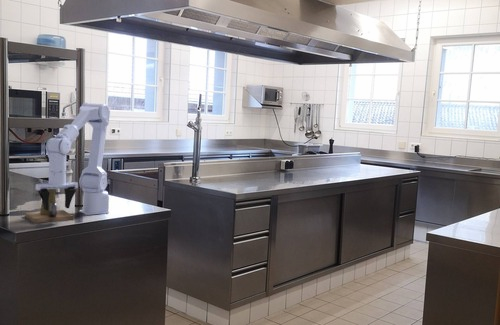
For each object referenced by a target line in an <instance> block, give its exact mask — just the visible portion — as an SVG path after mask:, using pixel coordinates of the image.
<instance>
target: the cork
mask: <svg viewBox="0 0 500 325" xmlns="http://www.w3.org/2000/svg"><path fill="white" fill-rule="evenodd" d="M47 190H48V192H50V194H49V200H48V210H45V209H44V206H43V202H42V201H41V206H40V210H39V212H40V214H41V215H50V203H57V201H56V199H57V198H56V192H57V189H47Z"/></svg>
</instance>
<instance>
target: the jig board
mask: <svg viewBox="0 0 500 325" xmlns="http://www.w3.org/2000/svg"><path fill="white" fill-rule="evenodd" d="M24 217H25V218H27V219H28V220H29V221H30V222H31V223H33V224H39V223H50V222H61V221H72V220H74V215H73V214H71V213H70V212H67V211H66V210H64V209H57V215H56V217H49V215H41V214H40V211H29V212H27V211H26V212H25V213H24Z"/></svg>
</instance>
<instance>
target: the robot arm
mask: <svg viewBox="0 0 500 325" xmlns="http://www.w3.org/2000/svg"><path fill="white" fill-rule="evenodd" d="M78 110H79V113H78V114H77V115H76V117H75V118H74V119H73V121H72V122H71V124H65V125H63V128H62V129H61V130H60V131H59V132H58V133H57V134H56V135H55V136H54V137H51V138H50V139H48V140H47V142H46V145H45V150H46V152H47V157H48V182H46V183H37V184H35V191H37V193H38V196H40V199H41V203H42V202H43V206H44V209H45V210H48V200H49V194H50V192H48V190H47V189H56V190H59V189H64V188H65V189H64V190H65V194H64V195H65V196H64V207H65V208H66V209H70V206H71V203H72V200H73V197H74V195H75V194H76V193H77V189H78V188H79V187H80V189H81V191H82V192H83V198H82V199H83V203H82V204H83V205H82V206H83V208H82V209H80V210H79V212H80V213H82V214H83V215H86V216H89V215H90V216H91V215H100V214H101V215H102V214H104V215H105V214H109V213H110V212H109V202H110V201H109V200H110V196H109V192H108V191H107V190H106V188H107V186H108V177H107V176H108V173H107V171H105V170H104V168H102V166H103V158H104V152H105V145H106V143H105V142H106V136H107V129H108V126H109V123H110V117H111V116H110V114H111V110H110V109H109V106H108V104H106V103H91V102H90V103H88V102H83V103H82V105H81V106H80V107H79V109H78ZM87 123H88V124H89V125H91V127H92V134H91V141H90V149H89V155H88V162H87V163H88V164H87V166H86V167H85V168H84V169H82V171H81V175H80V177H79V179H78V182H77V181H74V182H73V181H71V182H66V169H67V155H68V153H70V151H71V147H72V145H73V144H72V143H73V142H74V141H75V140H76V139H77V138H78V136H79V135H80V132H79V131H80V130H81V129H82V128H83V127H84V126H85V125H86V124H87Z"/></svg>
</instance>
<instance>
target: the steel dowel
mask: <svg viewBox="0 0 500 325" xmlns="http://www.w3.org/2000/svg"><path fill="white" fill-rule="evenodd" d="M57 204H58V202H56V203H50V215H49V217H56V215H57V210H58V205H57Z"/></svg>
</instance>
